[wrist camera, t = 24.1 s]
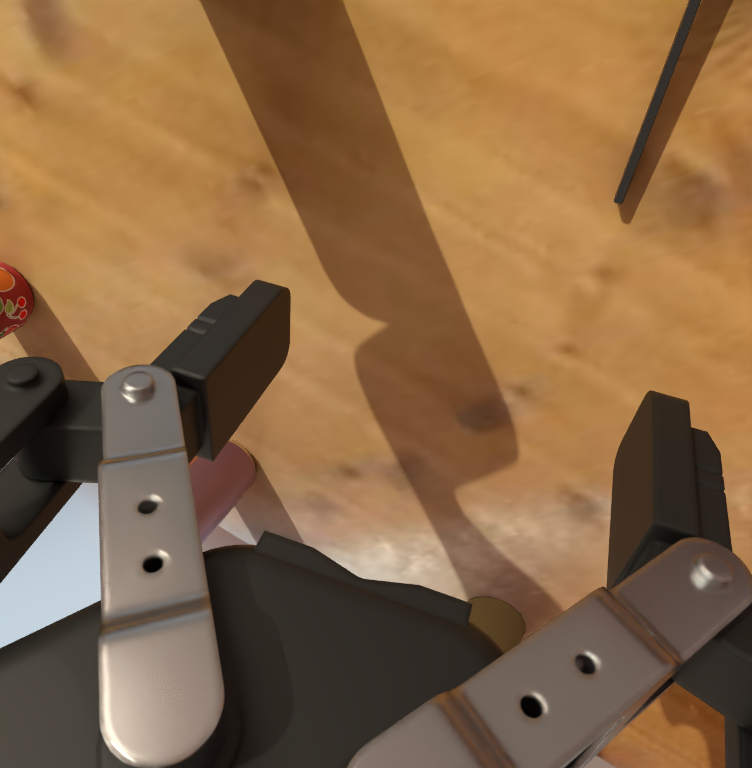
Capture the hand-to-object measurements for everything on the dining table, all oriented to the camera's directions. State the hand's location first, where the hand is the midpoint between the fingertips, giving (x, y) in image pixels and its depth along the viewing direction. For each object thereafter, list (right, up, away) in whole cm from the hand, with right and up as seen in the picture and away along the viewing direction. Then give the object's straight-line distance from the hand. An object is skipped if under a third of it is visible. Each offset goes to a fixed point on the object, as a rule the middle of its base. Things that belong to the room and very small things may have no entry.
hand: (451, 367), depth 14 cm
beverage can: (-16, -8, +48) cm, 51 cm away
